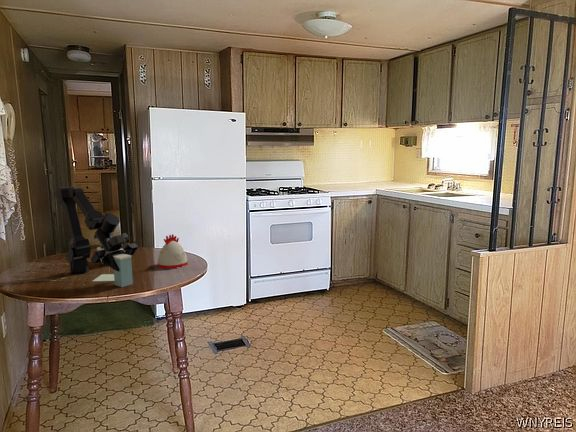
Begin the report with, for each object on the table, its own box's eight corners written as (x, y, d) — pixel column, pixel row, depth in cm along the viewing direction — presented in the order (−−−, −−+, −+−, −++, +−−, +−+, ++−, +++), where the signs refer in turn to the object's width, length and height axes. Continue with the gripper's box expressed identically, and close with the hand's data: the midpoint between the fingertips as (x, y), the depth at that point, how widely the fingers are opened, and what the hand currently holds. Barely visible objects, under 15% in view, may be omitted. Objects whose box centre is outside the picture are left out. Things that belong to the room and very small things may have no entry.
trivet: (92, 281, 178) (92, 281, 178) (101, 274, 188) (101, 274, 188) (116, 281, 178) (116, 280, 178) (124, 274, 188) (124, 273, 188)
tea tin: (114, 285, 173) (112, 256, 171) (125, 281, 177) (123, 253, 175) (122, 287, 170) (119, 258, 168) (133, 283, 174) (131, 255, 172)
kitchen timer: (152, 266, 202) (150, 235, 200) (175, 260, 213) (173, 230, 211) (170, 270, 194) (168, 238, 192) (193, 264, 205) (192, 233, 202)
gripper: (92, 231, 164) (111, 262, 160) (133, 224, 180) (152, 253, 175) (83, 248, 170) (100, 279, 165) (124, 240, 185) (141, 268, 181)
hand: (124, 269), depth 171 cm, fingers closed on tea tin, 5 cm apart
